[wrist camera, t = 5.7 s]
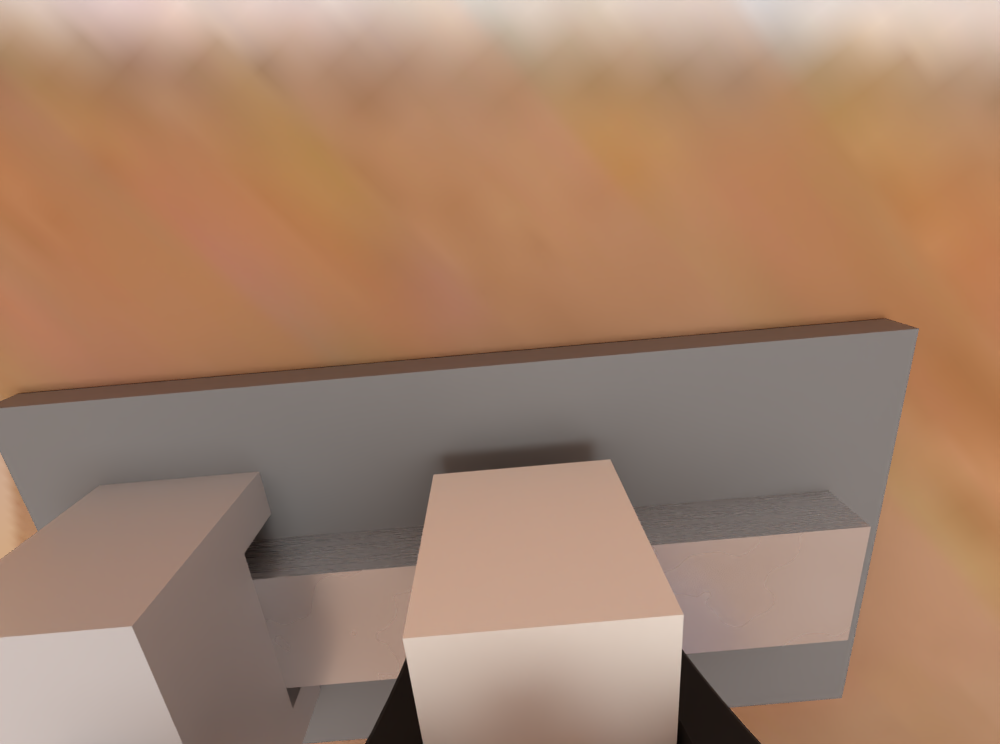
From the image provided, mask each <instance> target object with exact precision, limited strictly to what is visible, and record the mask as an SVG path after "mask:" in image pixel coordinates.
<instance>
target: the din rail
mask: <svg viewBox="0 0 1000 744" xmlns="http://www.w3.org/2000/svg"><path fill="white" fill-rule="evenodd" d="M633 509H634V511H635V513H636V515H637V517H638V519H639V521H640V523H641V525H642V528H643V530H644V532H645V534H646V536H647V538H648V540H649V542H650V544H651V547H652V549H653V551H654V553H655V555H656V557H657V559H658V561H659V563H660V566H661V568H662V570H663V572H664V574H665V576H666V578H667V580H668V582H669V585H670V587H671V589H672V591H673V593H674V595H675V597H676V599H677V602H678V604H679V606H680V608H681V610H682V612H683V614H684V619H683V637H682V650H683V651H684V652H685V654H691V653H703V652H715V651H726V650H738V649H750V648H762V647H773V646H785V645H797V644H808V643H820V642H832V641H844V640H848V637H849V632H850V627H851V622H852V617H853V612H854V607H855V602H856V598H857V593H858V588H859V583H860V578H861V573H862V568H863V563H864V558H865V553H866V548H867V544H868V539H869V534H870V529H871V526H870V525H868V524H867V523H866V522H865V521H864V520H863V519H861V518H860V517H859V516H858V515H857V514H856V513H854V512H853V511H852V510H851V509H850V508H849V507H847V506H846V505H845V504H844V503H843V502H842V501H840V500H839V499H838V498H837V497H836V496H835V495H833V494H832V493H831V492H830V491H819V492H807V493H795V494H784V495H772V496H761V497H749V498H737V499H726V500H714V501H702V502H691V503H679V504H668V505H656V506H644V507H633ZM423 528H424V525H423V526H412V527H400V528H389V529H377V530H365V531H354V532H342V533H330V534H319V535H307V536H296V537H284V538H272V539H261V540H253V541H252V543H251V544H250V546H249V547H248V549H247V550H246V552H245V553H244V554H245V558H246V561H247V564H248V567H249V570H250V574H251V577H252V580H253V583H254V586H255V590H256V593H257V596H258V599H259V602H260V605H261V609H262V612H263V615H264V618H265V621H266V625H267V628H268V631H269V634H270V637H271V641H272V644H273V647H274V650H275V653H276V657H277V660H278V663H279V666H280V669H281V673H282V676H283V679H284V682H285V685H286V688H293V687H305V686H317V685H328V684H340V683H352V682H363V681H375V680H387V679H397V677H398V675H399V673H400V671H401V668H402V666H403V663H404V661H405V659H406V654H405V649H404V644H403V634H404V628H405V623H406V618H407V612H408V607H409V602H410V597H411V591H412V586H413V581H414V575H415V570H416V565H417V560H418V554H419V549H420V544H421V538H422V533H423Z"/></svg>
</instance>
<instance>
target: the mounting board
mask: <svg viewBox="0 0 1000 744" xmlns="http://www.w3.org/2000/svg"><path fill="white" fill-rule="evenodd" d="M918 330H919V328H915V327H912V326H909V325H905V324H902V323H899V322H896V321H892V320H889V319H876V320H864V321H853V322H841V323H830V324H818V325H807V326H795V327H784V328H772V329H761V330H749V331H738V332H726V333H714V334H703V335H691V336H680V337H668V338H657V339H645V340H634V341H622V342H611V343H599V344H588V345H576V346H564V347H553V348H541V349H530V350H518V351H507V352H495V353H484V354H472V355H461V356H449V357H438V358H426V359H415V360H403V361H391V362H380V363H368V364H357V365H345V366H334V367H322V368H311V369H299V370H288V371H276V372H265V373H253V374H241V375H230V376H218V377H207V378H195V379H184V380H172V381H161V382H149V383H138V384H126V385H115V386H103V387H91V388H80V389H68V390H57V391H45V392H34V393H22V394H17V395H14V396H12V397H10V398H7V399H5V400H3V401H0V453H1V455H2V457H3V459H4V461H5V463H6V465H7V467H8V469H9V471H10V474H11V476H12V478H13V480H14V482H15V484H16V486H17V488H18V490H19V492H20V495H21V497H22V499H23V501H24V503H25V505H26V507H27V509H28V511H29V513H30V516H31V518H32V520H33V522H34V524H35V526H36V528H37V530H38V531H39V530H40V529H42V528H43V527H44V526H46V525H47V524H48V523H50V522H51V521H52V520H54V519H55V518H56V517H58V516H59V515H60V514H62V513H63V512H64V511H66V510H67V509H68V508H70V507H71V506H73V505H74V504H75V503H77V502H78V501H79V500H81V499H82V498H83V497H85V496H86V495H87V494H89V493H90V492H91V491H93V490H94V489H95V488H97V487H98V486H99V485H110V484H122V483H134V482H145V481H157V480H168V479H180V478H192V477H203V476H215V475H226V474H238V473H249V472H259V473H260V476H261V480H262V484H263V487H264V491H265V494H266V498H267V501H268V505H269V508H270V512H271V515H270V516H269V518H268V519H267V521H266V522H265V524H264V525H263V527H262V528H261V530H260V531H259V533H258V534H257V535H256V537H255V538H254V540H261V539H272V538H284V537H296V536H307V535H319V534H330V533H342V532H354V531H365V530H377V529H389V528H400V527H412V526H423V525H424V522H425V517H426V512H427V507H428V501H429V496H430V491H431V485H432V480H433V475H434V474H446V473H457V472H469V471H480V470H492V469H504V468H515V467H527V466H538V465H550V464H562V463H573V462H585V461H596V460H608V459H610V460H611V462H612V464H613V466H614V468H615V470H616V473H617V475H618V477H619V479H620V481H621V483H622V485H623V487H624V489H625V492H626V494H627V496H628V498H629V500H630V502H631V504H632V506H633V507H644V506H656V505H668V504H679V503H691V502H702V501H714V500H726V499H737V498H749V497H761V496H772V495H784V494H795V493H807V492H819V491H830V492H831V493H832V494H833V495H835V496H836V497H837V498H838V499H839V500H840V501H842V502H843V503H844V504H845V505H846V506H847V507H849V508H850V509H851V510H852V511H853V512H854V513H856V514H857V515H858V516H859V517H860V518H861V519H863V520H864V521H865V522H866V523H867V524H868V525H870V526H871V529H870V534H869V539H868V544H867V548H866V553H865V558H864V563H863V568H862V573H861V578H860V583H859V588H858V593H857V598H856V602H855V607H854V612H853V617H852V622H851V627H850V632H849V637H848V640H844V641H832V642H820V643H808V644H797V645H785V646H773V647H762V648H750V649H738V650H726V651H715V652H703V653H691V654H686V655H687V656H688V657H689V659H690V660H691V661H692V663H693V664H694V665H695V667H696V668H697V669H698V670H699V672H700V673H701V674H702V675H703V677H704V678H705V679H706V680H707V682H708V683H709V684H710V685H711V687H712V688H713V689H714V690H715V691H716V692H717V694H718V695H719V696H720V697H721V698H722V700H723V701H724V702H725V703H726V704H727V706H728V707H729V708H730V707H742V706H754V705H766V704H777V703H789V702H801V701H812V700H824V699H836V698H842V694H843V689H844V685H845V680H846V675H847V670H848V665H849V661H850V656H851V651H852V646H853V642H854V637H855V632H856V627H857V622H858V618H859V613H860V608H861V603H862V598H863V594H864V589H865V584H866V579H867V575H868V570H869V565H870V560H871V555H872V551H873V546H874V541H875V536H876V531H877V527H878V522H879V517H880V512H881V508H882V503H883V498H884V493H885V488H886V484H887V479H888V474H889V469H890V464H891V460H892V455H893V450H894V445H895V441H896V436H897V431H898V426H899V421H900V417H901V412H902V407H903V402H904V397H905V393H906V388H907V383H908V378H909V374H910V369H911V364H912V359H913V354H914V350H915V345H916V340H917V335H918ZM396 680H397V679H387V680H375V681H363V682H352V683H340V684H328V685H319V686H320V689H321V690H320V693H319V696H318V699H317V702H316V705H315V707H314V710H313V713H312V716H311V719H310V722H309V725H308V728H307V731H306V734H305V737H304V740H303V743H302V744H308V743H319V742H331V741H343V740H355V739H366V738H368V737H369V735H370V733H371V732H372V730H373V728H374V725H375V723H376V721H377V719H378V717H379V715H380V713H381V711H382V709H383V707H384V705H385V703H386V701H387V699H388V697H389V695H390V693H391V691H392V688H393V686H394V684H395V682H396Z"/></svg>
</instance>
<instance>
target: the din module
mask: <svg viewBox="0 0 1000 744" xmlns="http://www.w3.org/2000/svg"><path fill="white" fill-rule="evenodd" d="M683 619H684V614H683V612H682V610H681V608H680V606H679V604H678V602H677V599H676V597H675V595H674V593H673V591H672V589H671V587H670V585H669V582H668V580H667V578H666V576H665V574H664V572H663V570H662V568H661V566H660V563H659V561H658V559H657V557H656V555H655V553H654V551H653V549H652V547H651V544H650V542H649V540H648V538H647V536H646V534H645V532H644V530H643V528H642V525H641V523H640V521H639V519H638V517H637V515H636V513H635V511H634V509H633V506H632V504H631V502H630V500H629V498H628V496H627V494H626V492H625V489H624V487H623V485H622V483H621V481H620V479H619V477H618V475H617V473H616V470H615V468H614V466H613V464H612V462H611V460H610V459H608V460H596V461H585V462H573V463H562V464H550V465H538V466H527V467H515V468H504V469H492V470H480V471H469V472H457V473H446V474H434V475H433V480H432V485H431V491H430V496H429V501H428V507H427V512H426V517H425V522H424V528H423V533H422V538H421V544H420V549H419V554H418V560H417V565H416V570H415V575H414V581H413V586H412V591H411V597H410V602H409V607H408V612H407V618H406V623H405V628H404V634H403V644H404V649H405V654H406V659H407V664H408V669H409V674H410V679H411V685H412V690H413V695H414V700H415V705H416V710H417V715H418V720H419V725H420V731H421V736H422V741H423V744H677V729H678V711H679V692H680V674H681V656H682V637H683Z"/></svg>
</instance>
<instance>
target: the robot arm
mask: <svg viewBox="0 0 1000 744" xmlns="http://www.w3.org/2000/svg"><path fill="white" fill-rule="evenodd" d="M365 744H423V741H422V736H421V731H420V725H419V720H418V715H417V710H416V705H415V700H414V695H413V690H412V685H411V679H410V674H409V669H408V664H407V659H405V661H404V663H403V666H402V668H401V671H400V673H399V675H398V677H397V680H396V682H395V684H394V686H393V688H392V691H391V693H390V695H389V697H388V699H387V701H386V703H385V705H384V707H383V709H382V711H381V713H380V715H379V717H378V719H377V721H376V723H375V725H374V728H373V730H372V732H371V733H370V735H369V737H368V739H367V741H366V743H365ZM677 744H761V743H760V742H759V741H758V740H757V739H756V738H755V737H754V735H753V734H752V733H751V732H750V731H749V730H748V729H747V728H746V727H745V725H744V724H743V723H742V722H741V721H740V720H739V719H738V717H737V716H736V715H735V714H734V713H733V712H732V710H731V709H730V708H729V707H728V706H727V704H726V703H725V702H724V701H723V700H722V698H721V697H720V696H719V695H718V694H717V692H716V691H715V690H714V689H713V688H712V687H711V685H710V684H709V683H708V682H707V680H706V679H705V678H704V677H703V675H702V674H701V673H700V672H699V670H698V669H697V668H696V667H695V665H694V664H693V663H692V661H691V660H690V659H689V657H688V656H687V655H686V654H685V652H684V651H683V650H682V656H681V674H680V692H679V711H678V729H677Z"/></svg>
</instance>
